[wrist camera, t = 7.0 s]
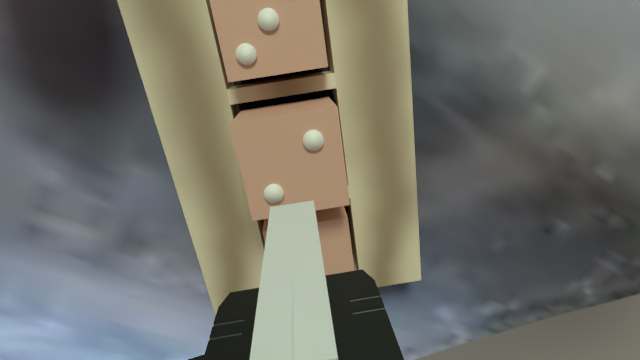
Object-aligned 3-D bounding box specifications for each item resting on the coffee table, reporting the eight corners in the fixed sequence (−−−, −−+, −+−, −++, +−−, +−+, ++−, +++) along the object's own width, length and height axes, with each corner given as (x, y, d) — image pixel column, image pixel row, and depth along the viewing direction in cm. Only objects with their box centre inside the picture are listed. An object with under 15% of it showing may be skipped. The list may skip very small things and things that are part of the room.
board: (222, 290, 29) (215, 315, 27) (127, -35, 21) (101, -49, 18) (408, 258, 30) (421, 279, 27) (387, -73, 21) (402, -92, 19)
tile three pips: (239, 77, 23) (227, 82, 19) (219, -17, 22) (200, -34, 17) (321, 64, 24) (328, 67, 19) (308, -30, 22) (313, -51, 17)
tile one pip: (280, 264, 29) (278, 302, 24) (266, 203, 27) (262, 232, 22) (347, 253, 29) (357, 289, 24) (338, 191, 27) (348, 218, 23)
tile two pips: (259, 191, 24) (252, 222, 20) (241, 110, 22) (228, 124, 18) (339, 178, 24) (350, 206, 20) (328, 96, 22) (338, 107, 18)
